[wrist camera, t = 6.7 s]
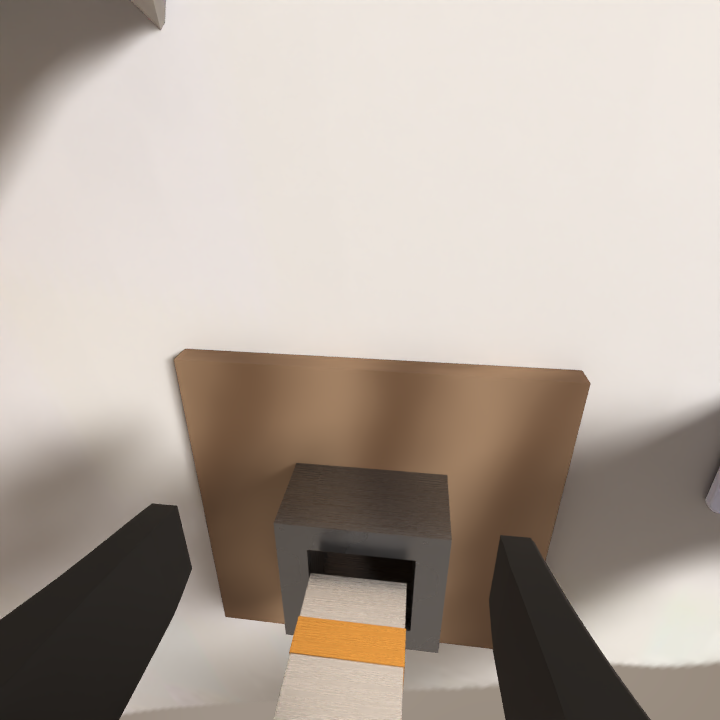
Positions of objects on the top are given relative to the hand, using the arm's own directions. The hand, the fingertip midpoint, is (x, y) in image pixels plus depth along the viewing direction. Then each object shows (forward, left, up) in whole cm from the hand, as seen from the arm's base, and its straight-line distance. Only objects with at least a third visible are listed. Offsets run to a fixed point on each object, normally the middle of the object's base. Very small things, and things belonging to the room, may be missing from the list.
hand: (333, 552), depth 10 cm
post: (0, +8, -4) cm, 9 cm away
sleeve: (0, +8, -9) cm, 12 cm away
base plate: (0, +8, -9) cm, 12 cm away
